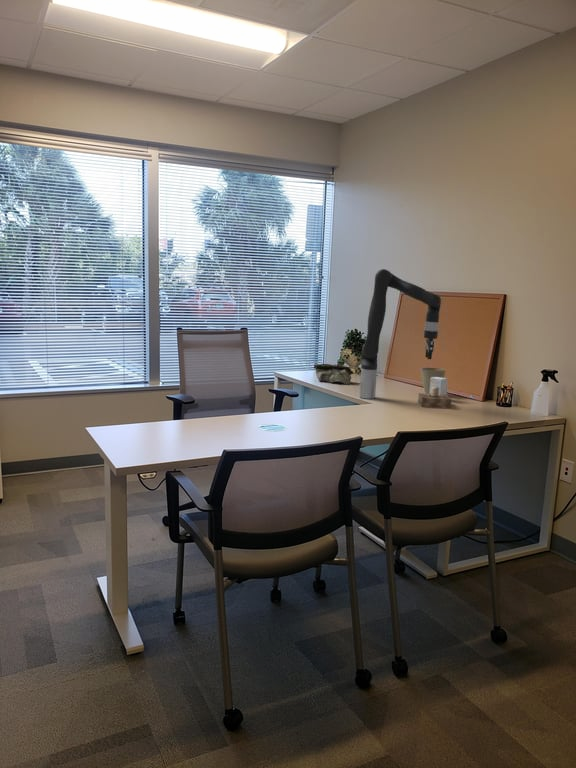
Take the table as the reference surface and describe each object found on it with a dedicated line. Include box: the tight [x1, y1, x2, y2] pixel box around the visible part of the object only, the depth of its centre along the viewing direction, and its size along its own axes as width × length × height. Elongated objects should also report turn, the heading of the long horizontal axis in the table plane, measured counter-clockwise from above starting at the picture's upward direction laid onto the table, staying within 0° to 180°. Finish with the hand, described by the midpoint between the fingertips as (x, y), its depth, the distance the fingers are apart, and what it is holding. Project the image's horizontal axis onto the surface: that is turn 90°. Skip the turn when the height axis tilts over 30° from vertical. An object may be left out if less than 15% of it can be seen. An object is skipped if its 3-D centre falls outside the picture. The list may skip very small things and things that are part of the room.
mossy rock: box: [313, 363, 355, 385], centre depth 391 cm, size 28×13×15 cm
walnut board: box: [417, 393, 452, 409], centre depth 327 cm, size 16×14×5 cm
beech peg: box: [431, 387, 439, 397], centre depth 327 cm, size 4×4×10 cm
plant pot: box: [420, 366, 446, 394], centre depth 360 cm, size 15×15×16 cm
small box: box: [429, 377, 448, 396], centre depth 344 cm, size 8×6×13 cm
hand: (428, 358), depth 329 cm, fingers open, 8 cm apart
